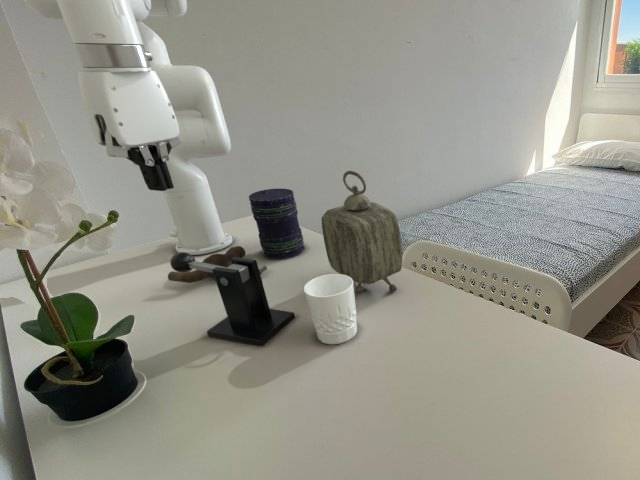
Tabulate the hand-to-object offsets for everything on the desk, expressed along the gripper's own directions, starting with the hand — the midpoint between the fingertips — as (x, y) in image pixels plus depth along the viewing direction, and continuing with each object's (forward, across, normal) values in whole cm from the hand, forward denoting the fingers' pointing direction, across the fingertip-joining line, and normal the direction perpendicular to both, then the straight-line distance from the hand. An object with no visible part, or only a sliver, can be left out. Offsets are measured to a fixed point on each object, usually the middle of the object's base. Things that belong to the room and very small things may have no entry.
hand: (161, 188), depth 66 cm
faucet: (+25, -16, -9) cm, 31 cm away
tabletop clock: (+25, -18, +23) cm, 39 cm away
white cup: (+25, -2, +26) cm, 36 cm away
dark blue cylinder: (+25, -30, -6) cm, 40 cm away
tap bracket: (+25, 0, +10) cm, 27 cm away
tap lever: (+16, 0, +4) cm, 16 cm away
